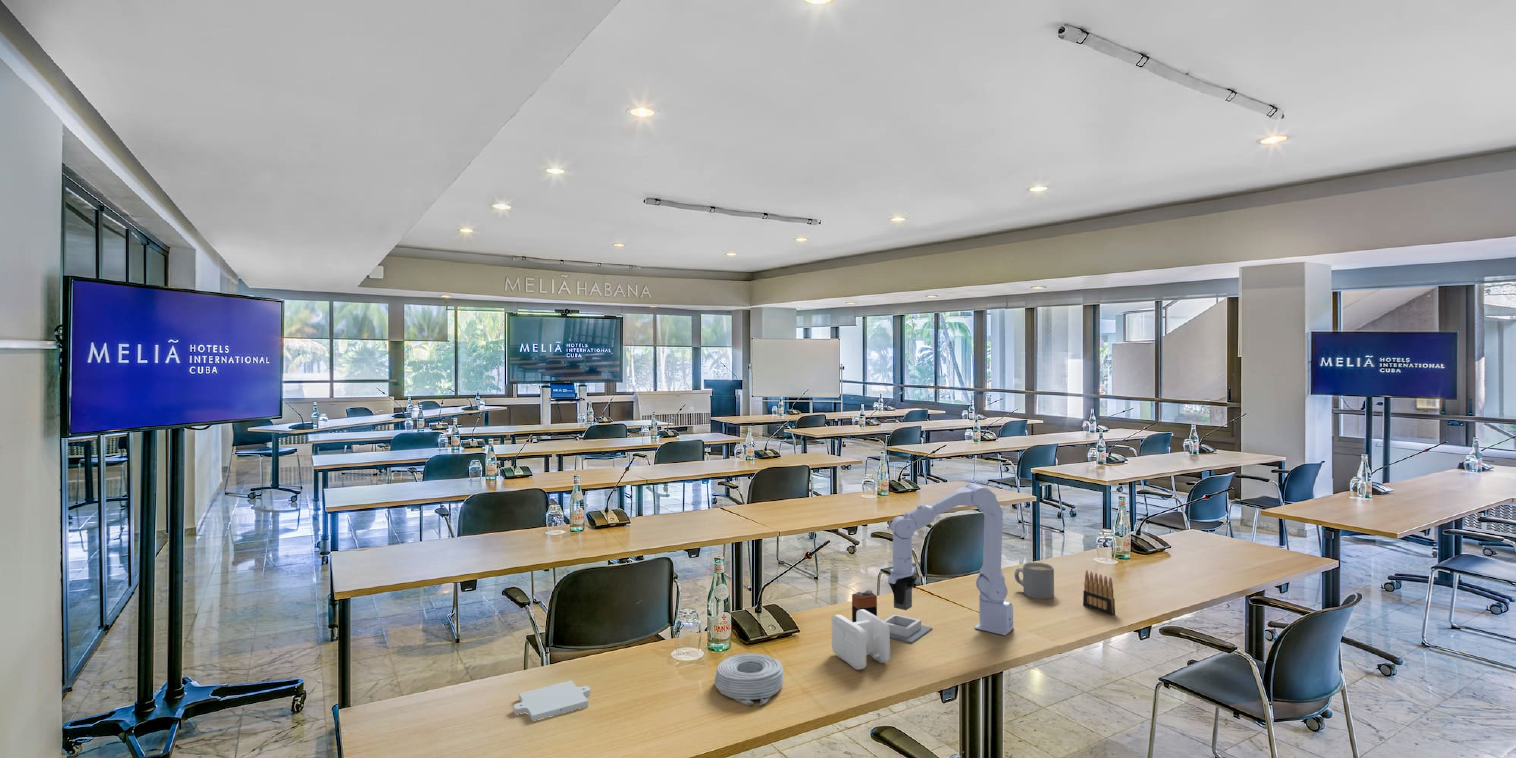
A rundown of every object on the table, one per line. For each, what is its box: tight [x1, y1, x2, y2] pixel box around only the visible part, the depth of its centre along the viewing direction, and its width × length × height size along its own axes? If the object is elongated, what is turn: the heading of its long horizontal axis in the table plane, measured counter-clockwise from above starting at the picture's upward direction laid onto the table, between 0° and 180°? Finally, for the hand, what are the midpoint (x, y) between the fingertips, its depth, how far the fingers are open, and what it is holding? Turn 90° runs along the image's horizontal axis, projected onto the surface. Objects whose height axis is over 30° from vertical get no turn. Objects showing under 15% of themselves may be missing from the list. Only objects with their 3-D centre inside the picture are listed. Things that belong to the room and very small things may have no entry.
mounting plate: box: [513, 679, 592, 722], centre depth 164 cm, size 18×13×2 cm
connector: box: [893, 586, 913, 611], centre depth 207 cm, size 4×4×7 cm
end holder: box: [884, 613, 933, 645], centre depth 208 cm, size 14×14×3 cm
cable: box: [714, 652, 785, 707], centre depth 171 cm, size 18×18×6 cm
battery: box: [851, 589, 878, 622], centre depth 214 cm, size 4×7×10 cm, turn 109°
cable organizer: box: [831, 609, 891, 671], centre depth 187 cm, size 15×11×12 cm
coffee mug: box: [1014, 561, 1055, 600], centre depth 242 cm, size 13×10×10 cm
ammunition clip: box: [1082, 570, 1116, 616], centre depth 224 cm, size 11×2×12 cm, turn 25°
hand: (902, 601), depth 207 cm, fingers closed on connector, 4 cm apart
